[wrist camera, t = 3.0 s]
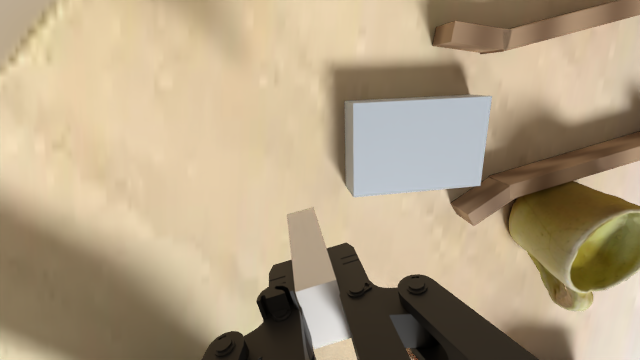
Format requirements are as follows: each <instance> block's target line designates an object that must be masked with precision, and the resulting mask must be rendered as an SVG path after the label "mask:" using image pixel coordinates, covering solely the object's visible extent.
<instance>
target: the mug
mask: <svg viewBox="0 0 640 360" xmlns="http://www.w3.org/2000/svg"><path fill="white" fill-rule="evenodd" d="M509 231H510V235H511V237H512V238H513V240H514V241H515V242H516V243H517V244H519V245H520V246H521V247H522V248H524V249H525V250H526V251H527V252H528V254H529V256H530V258H531V259H532V260H533V262H534V264H535V265H536V267H537V269H538V270H539V272H540V274H541V279H542V281H543V283H544V285H545V287H546V288H547V290H548V292H549V295H550V297H551V298H552V300H553V301H554V302H555V303H556V304H557V305H559V306H560V307H562V308H564V309H567V310H569V311H584V310H586V309H588V308H589V307H590V306H591V305H592V302H593V294H592V291H601V290H607V289H609V288H611V287H614V286H616V285H618V284H620V283H622V282H623V281H626V280H628V279H629V278H630V277H631V276H633V275H634V274H635V273H636V272H637V271H638V270H639V269H640V206H638V205H635V204H632V203H629V202H627V201H625V200H623V199H621V198H619V197H616V196H612V195H609V194H605V193H602V192H600V191H597V190H594V189H592V188H589V187H587V186H584V185H582V184H579V183H577V182H574V181H570V182H566V183H563V184H560V185H557V186H553V187H550V188H547V189H543V190H540V191H537V192H533V193H530V194H527V195H523V196H520V197H518V198H517V199H516V201H515V202H514V204H513V207H512V210H511V214H510V218H509ZM564 284H565V285H564ZM565 286H566V288H567V291H566V289H565Z"/></svg>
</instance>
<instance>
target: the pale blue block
mask: <svg viewBox="0 0 640 360" xmlns="http://www.w3.org/2000/svg"><path fill="white" fill-rule="evenodd" d="M491 99H492V96H482V95H452V96H432V97H411V98H391V99H371V100H351V101H345V172H346V187H347V189H348V190H349V191H350V193H351V194H352V196H353V197H363V196H374V195H385V194H396V193H407V192H418V191H429V190H440V189H451V188H462V187H473V186H480V185H481V177H482V169H483V162H484V154H485V146H486V138H487V131H488V123H489V115H490V107H491Z"/></svg>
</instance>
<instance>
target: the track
mask: <svg viewBox="0 0 640 360" xmlns="http://www.w3.org/2000/svg"><path fill="white" fill-rule="evenodd" d="M637 15H640V0H616V1H612V2H608V3H605V4H601V5H597V6H593V7H589V8H586V9H582V10H578V11H574V12H570V13H567V14H563V15H559V16H555V17H552V18H548V19H544V20H540V21H536V22H533V23H529V24H525V25H521V26H517V27H514V28H510V29H504V28H498V27H491V26H485V25H478V24H472V23H466V22H459V21H454V22H450V23H447V24H444V25H441V26H438V27H436V30H435V35H434V41H433V46H437V47H445V48H452V49H459V50H466V51H473V52H480V54H486V53H494V52H502V51H507V50H510V49H514V48H518V47H522V46H525V45H529V44H533V43H537V42H540V41H544V40H548V39H551V38H555V37H559V36H563V35H566V34H570V33H574V32H577V31H581V30H585V29H589V28H592V27H596V26H600V25H604V24H607V23H611V22H615V21H618V20H622V19H626V18H630V17H633V16H637ZM639 160H640V131H639V132H636V133H633V134H629V135H626V136H622V137H619V138H616V139H612V140H609V141H606V142H602V143H599V144H595V145H592V146H589V147H585V148H582V149H578V150H575V151H572V152H568V153H565V154H562V155H558V156H555V157H551V158H548V159H545V160H541V161H538V162H534V163H531V164H528V165H524V166H521V167H518V168H514V169H511V170H507V171H504V172H501V173H497V174H494V175H491V176H489V178H487V179H486V180H484V181H483V182H481V185H480V186H475V187H474V188H472V189H471V190H469V191H468V192H466V193H465V194H463V195H462V196H460V197H459V198H457V199H456V200H454V201H453V202H451V205H452V207H453V208H454V210H455V212H456V214H458V215H459V216H460V217H462V218H463V219H465V220H466V221H467V222H469V223H470V224H472V225H473V226H475V225H476V224H478V223H479V222H481V221H482V220H484V219H485V218H487V217H488V216H490V215H491V214H493V213H494V212H496V211H497V210H499V209H500V208H502V207H503V206H505V205H506V204H508V203H509V202H511V201H512V200H514V199H515V198H517V197H520V196H523V195H527V194H530V193H533V192H537V191H540V190H543V189H547V188H550V187H553V186H557V185H560V184H563V183H566V182H570V181H573V180H576V179H580V178H583V177H586V176H590V175H593V174H596V173H600V172H603V171H606V170H609V169H613V168H616V167H619V166H623V165H626V164H629V163H633V162H636V161H639Z"/></svg>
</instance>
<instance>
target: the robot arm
mask: <svg viewBox="0 0 640 360" xmlns="http://www.w3.org/2000/svg"><path fill="white" fill-rule="evenodd" d="M287 219H288V229H289V238H290V248H291V257H292V260H289V261H286V262H282V263H279V264H276V265H273V267H272V269H271V271H270V272H269V287H268V288H266V289H265V290H263V291H262V292H261V294H260V295H259V296H258V298H257V301H256V302H257V304H258V307H259V309H260V312H261V315H262V317H263V323H262V324H261V325H260V326H259V327H258V328H257V329H255V330H254V331H252V332H251V333H249V334H247V335H245V336H244V337H243V335H242V334H241V333H239V332H236V331H231V332H227V333H224V334H222V335H221V336H219V337H217V338H216V339H215V340H214V341H213V342H212V343H211V344H210V346H209V347H208V349H207V350H206V352H205V354H204V356H203V359H202V360H316V357H315V354H314V352H313V347H314V349H317V348H320V347H323V346H326V345H329V344H333V343H336V342H339V341H342V340H345V339H349V338H352V342H353V345H354V349H355V353H356V356H357V360H411V359H410V357H409V355H408V353H407V351H406V349H405V348H410V349H411V351H412V353H413V354H414V355H415V356H416V357H417V358H418V360H539V359H537V358H536V357H535V356H533V355H532V354H531V353H530V352H528V351H527V350H526V349H524V348H523V347H522V346H520V345H519V344H518V343H516V342H515V341H514V340H512V339H511V338H510V337H508V336H507V335H506V334H504V333H503V332H502V331H500V330H499V329H498V328H496V327H495V326H494V325H492V324H491V323H490V322H489V321H487V320H486V319H485V318H483V317H482V316H481V315H479V314H478V313H477V312H475V311H474V310H473V309H471V308H470V307H469V306H467V305H466V304H465V303H463V302H462V301H461V300H459V299H458V298H457V297H455V296H454V295H453V294H451V293H450V292H449V291H448V290H446V289H445V288H444V287H442V286H441V285H440V284H438V283H437V282H436V281H434V280H433V279H431V278H429V277H428V276H424V275H410V276H407V277H405V278H403V279H402V280H401V281H400V282H399V284H398V288H382V287H378V286H376V285H374V284H373V283H372V282H371V281H370V280H369V279H368V277H367V275H366V273H365V270H364V268H363V266H362V264H361V262H360V260H359V258H358V256H357V254H356V252H355V249H354V247H352V246H351V245H349V244H348V243H344V244H340V245H337V246H334V247H330V248H327V249H326V245H325V242H324V239H323V236H322V233H321V230H320V226H319V223H318V220H317V217H316V214H315V211H314V207H312V208H309V209H305V210H302V211H298V212H295V213H291V214H288V215H287ZM312 344H313V345H312Z"/></svg>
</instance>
